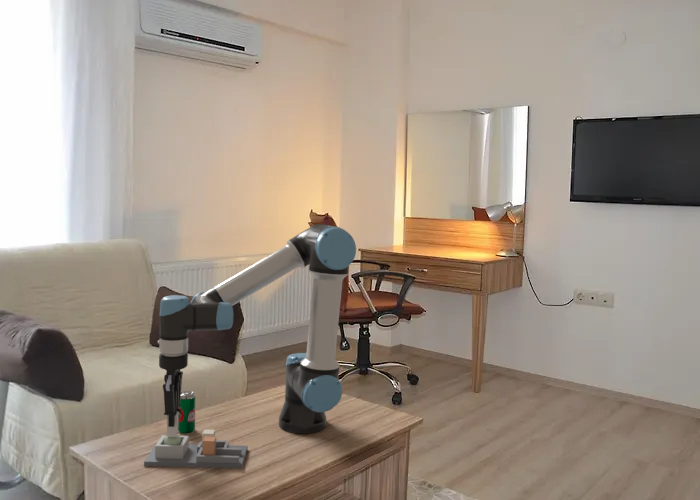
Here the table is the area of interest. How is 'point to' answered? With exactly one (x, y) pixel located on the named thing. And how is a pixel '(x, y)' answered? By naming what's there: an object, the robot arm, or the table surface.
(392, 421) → the table surface
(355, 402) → the table surface
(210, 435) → the knob cream
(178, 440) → the button
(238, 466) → the panel
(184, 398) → the soda can
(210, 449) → the knob terracotta
